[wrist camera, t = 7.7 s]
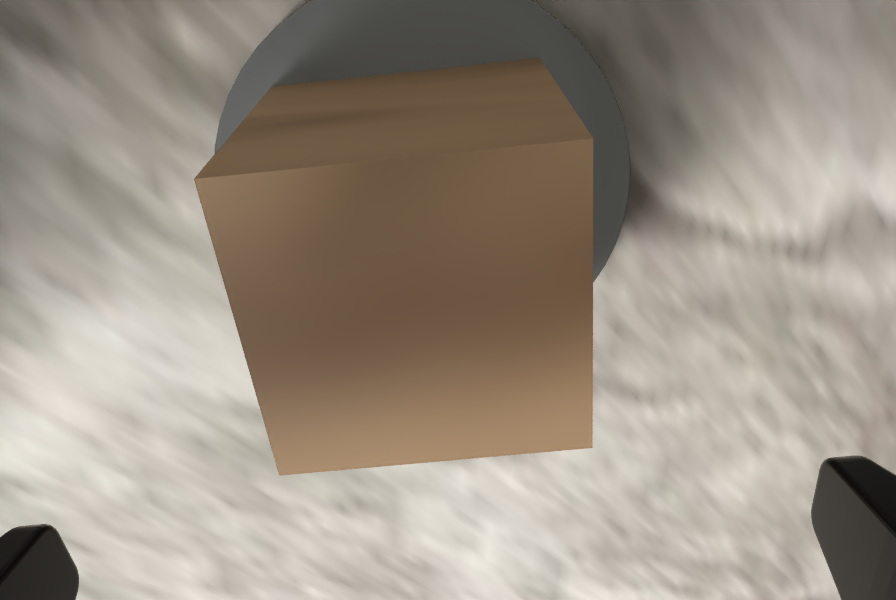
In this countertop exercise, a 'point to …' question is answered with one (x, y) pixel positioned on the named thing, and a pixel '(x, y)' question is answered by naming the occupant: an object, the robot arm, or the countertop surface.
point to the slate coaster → (444, 46)
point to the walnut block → (411, 265)
